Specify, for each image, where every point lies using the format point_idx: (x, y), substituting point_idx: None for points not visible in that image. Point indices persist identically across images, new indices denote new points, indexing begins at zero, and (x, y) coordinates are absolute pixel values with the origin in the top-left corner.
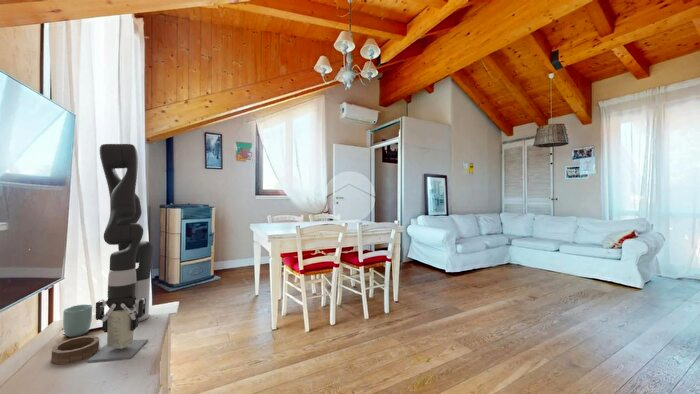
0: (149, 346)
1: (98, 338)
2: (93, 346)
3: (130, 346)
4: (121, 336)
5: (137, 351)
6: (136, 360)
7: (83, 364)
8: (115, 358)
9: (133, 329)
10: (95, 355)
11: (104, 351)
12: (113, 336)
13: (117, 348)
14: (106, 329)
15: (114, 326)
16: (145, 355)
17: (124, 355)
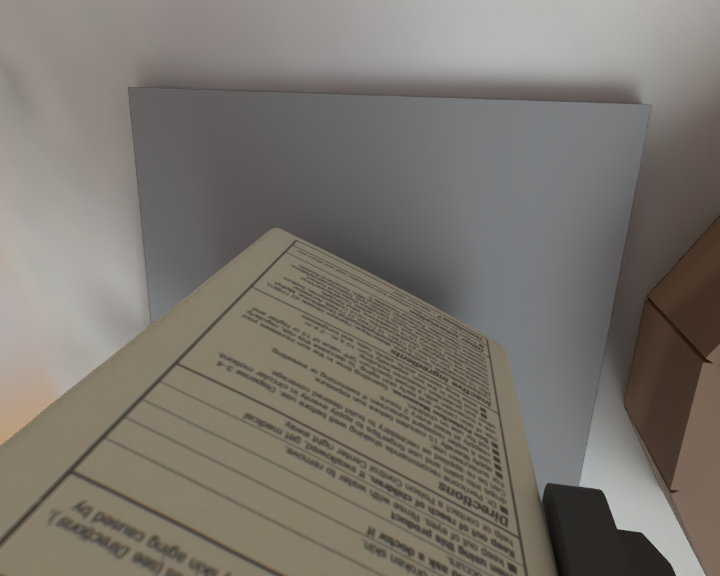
0: (96, 349)
1: (702, 550)
2: (690, 348)
3: None
4: (204, 286)
5: (153, 250)
6: (55, 23)
7: (673, 55)
8: (304, 94)
9: None
10: (597, 231)
11: (526, 321)
12: (384, 363)
13: None
14: (558, 521)
15: (324, 491)
16: (23, 135)
17: (225, 142)
